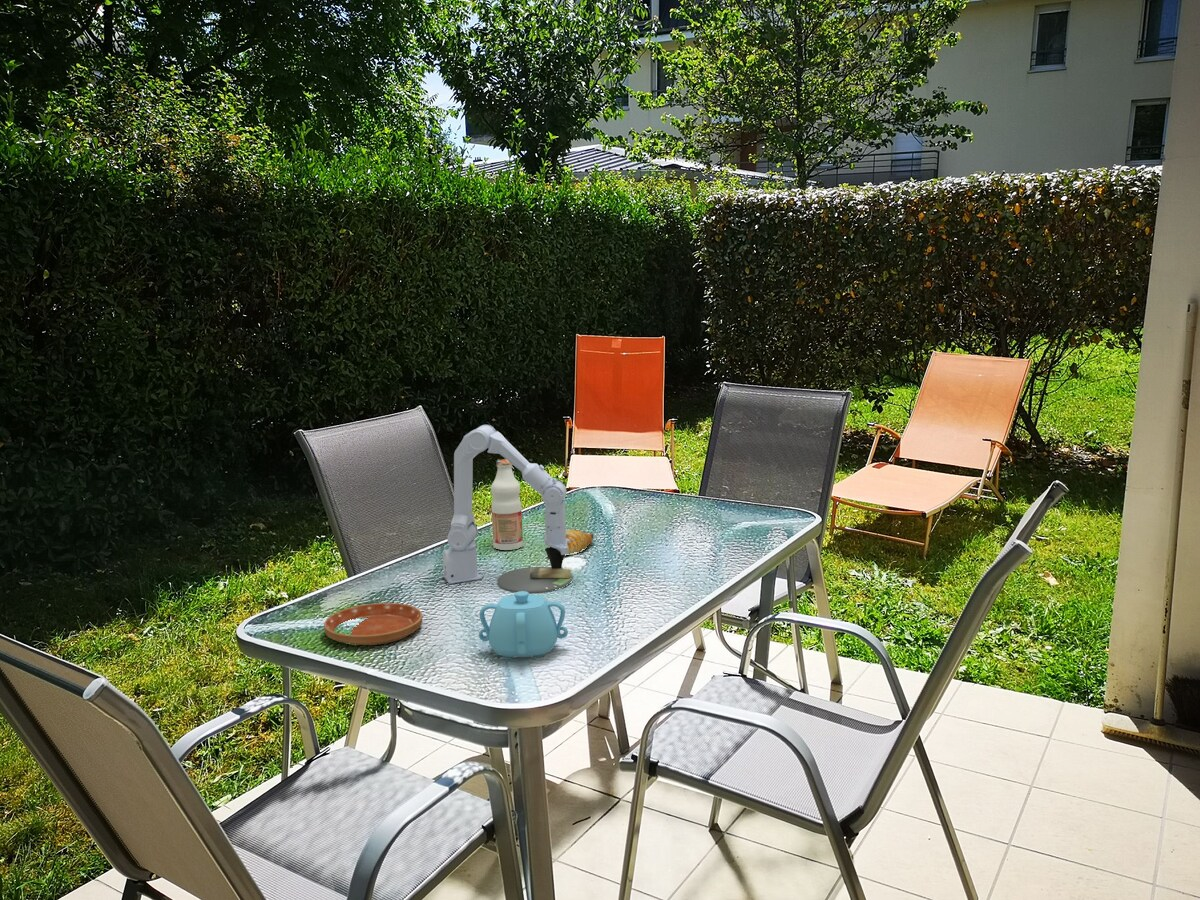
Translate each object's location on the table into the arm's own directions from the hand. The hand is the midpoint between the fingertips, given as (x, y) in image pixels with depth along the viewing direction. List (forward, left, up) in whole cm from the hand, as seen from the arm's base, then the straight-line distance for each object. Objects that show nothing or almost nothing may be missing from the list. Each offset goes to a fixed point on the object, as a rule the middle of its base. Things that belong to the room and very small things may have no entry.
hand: (556, 572), depth 253 cm
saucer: (-53, -18, -2) cm, 56 cm away
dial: (-6, +1, -2) cm, 6 cm away
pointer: (-2, -1, -1) cm, 2 cm away
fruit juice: (-3, +37, -2) cm, 38 cm away
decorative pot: (-24, -45, -2) cm, 51 cm away
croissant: (+13, +25, -2) cm, 29 cm away
